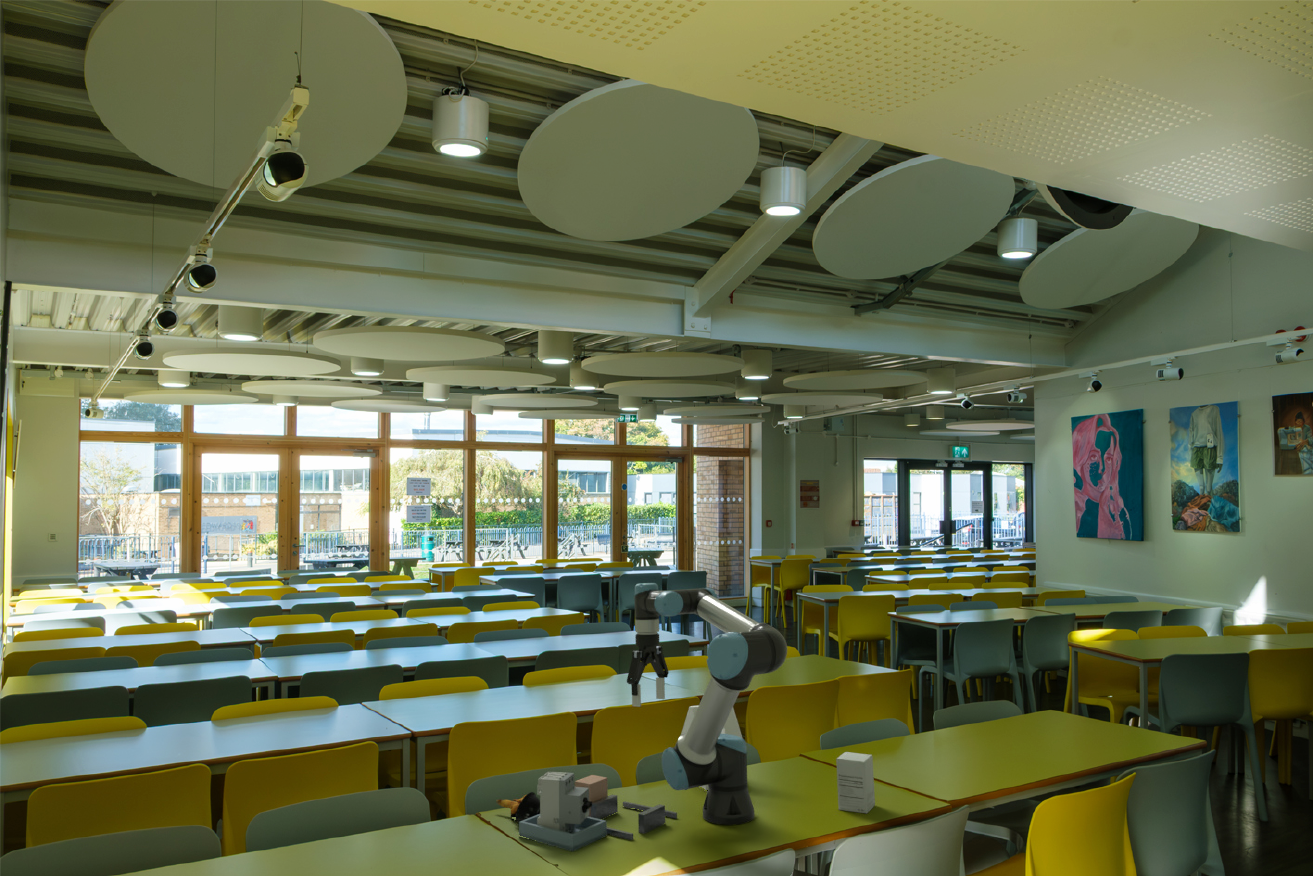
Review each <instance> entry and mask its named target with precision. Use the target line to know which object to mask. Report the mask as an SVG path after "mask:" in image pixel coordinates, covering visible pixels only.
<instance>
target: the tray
mask: <svg viewBox="0 0 1313 876" xmlns="http://www.w3.org/2000/svg"><path fill="white" fill-rule="evenodd" d="M539 816H540V814H538V815H535V816H533V817H530V818H528V819H525V820H523V821H520V822H518V836H519V835H520V836H523V837H526V838H529V839H532V840H536V841H538V842H537V843H540V842H542V843H541V844H543V843H545V844H544V845H547V844H548V846H550V847H554V846H557V847H556V848H558V847H559V848H558V849H562V848H563V850H566V851H570V852H575V851H578V850H579V849H582V848H583V846H584V847H586V846H588V845H590V844H593V843H594V842H596V841H599V840H601V839H603V838H605V837H607V836H608V834H607V827H608V825H607V820H604V819H602V820H601V819H597V818H592V817H587V818H586V819H585V820H584V821H583V822H582V823H581V824H575V828H574V829H573V830H572V831H571V832H570V833H567V832H563V831H559V830H555V829H551V828H548V827H544V826H540V825H537V818H538V817H539ZM606 835H607V836H606ZM602 837H603V838H602ZM529 839H528V840H529ZM532 840H531V841H532ZM536 841H535V842H536ZM581 847H582V848H581Z"/></svg>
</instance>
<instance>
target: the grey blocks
mask: <svg viewBox="0 0 1313 876" xmlns="http://www.w3.org/2000/svg"><path fill="white" fill-rule="evenodd" d="M618 805H619V804H618V795H617V794H609V795H608V796H607V797H605V798H602V799H600V800H597V801H595V802H592V806H591V817H592V818H597V819H602V820H604V819H603V818H605V817H607V816H609V815H612V814H614V813H616V812H619V811H618V809H619V808H618V807H619V806H618ZM623 806H624V807H627V808H626V809H629V808H635V809H639V810H643V812H642V811H640V812H639V813H638V815H637V817H638V818H637V819H638V822H637V823H638V833H639V834H644V835H645V834H647V833H649V832H651V831H653V830H655V829H657V828H659V827H662V826H663V825H665V824H666V818H669V817H670V819H674V820H676V819H678V812H676V811H672V810H667V809H666V806H665V805H664V804H657V805H655V806H650V805H649V806H648V805H644V804H639V803H634V802H629V801H626V800H625V801H623V802H622V807H623ZM624 807H623V808H624ZM616 814H617V813H616ZM614 815H615V814H614ZM612 816H613V815H612ZM665 816H667V817H665ZM609 817H610V816H609ZM607 818H608V817H607ZM605 819H606V818H605ZM664 823H665V824H664ZM608 834H611V835H610V836H612V835H613V836H612V837H616V836H617V838H620V839H625V840H628V841H632V840H634V833H633V832H628V831H625V830H621V829H617V828H612V827H608V826H607V835H608Z"/></svg>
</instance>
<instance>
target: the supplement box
mask: <svg viewBox="0 0 1313 876" xmlns="http://www.w3.org/2000/svg"><path fill="white" fill-rule="evenodd" d="M873 760H874V759H873V755H872V754H866V753H858V752H849V751H845V752H843V753H842V754H840V755H839V756H838V757H836V777H837V778H836V782H837V801H838V802H837V803H838V804H837V805H838V810H839V811H846V812H854V813H861V814H865V815H866V814H868V813H870V811H871V810H872V809H873V808H874V807H875V805H876V799H875V780H874V762H873Z"/></svg>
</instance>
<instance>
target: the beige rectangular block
mask: <svg viewBox="0 0 1313 876" xmlns="http://www.w3.org/2000/svg"><path fill="white" fill-rule="evenodd" d="M574 787H585V788H589V801H592V802H595V801H597V800H600V799H602V798H605V797H607V796H609V795H608V793H609V790H608V777H605V776H601V775H595V774H590V775H588V776H585V777H583V778H581V779H578V780H574ZM588 817H591V807H590V808H589V816H588Z"/></svg>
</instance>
